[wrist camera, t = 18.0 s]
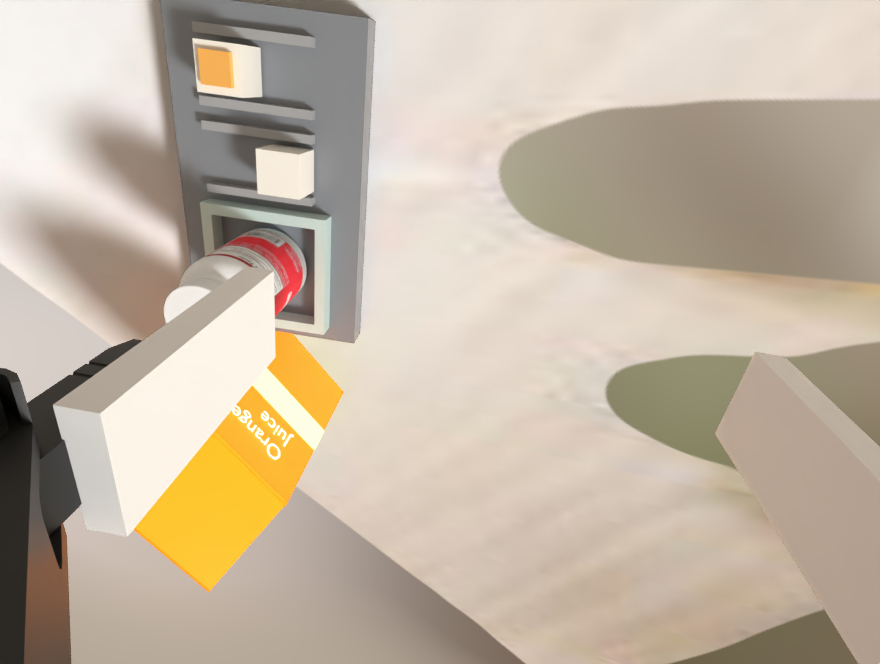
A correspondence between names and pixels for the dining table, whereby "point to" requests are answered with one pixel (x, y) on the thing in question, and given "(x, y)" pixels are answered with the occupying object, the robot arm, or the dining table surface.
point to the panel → (284, 123)
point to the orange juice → (244, 467)
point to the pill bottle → (228, 260)
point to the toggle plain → (285, 171)
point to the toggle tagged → (227, 68)
